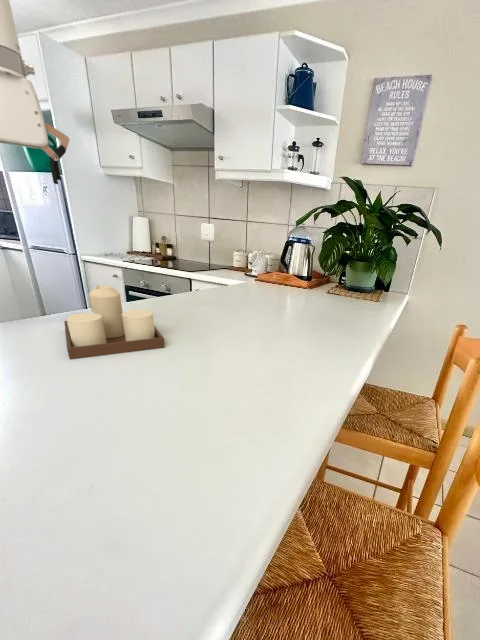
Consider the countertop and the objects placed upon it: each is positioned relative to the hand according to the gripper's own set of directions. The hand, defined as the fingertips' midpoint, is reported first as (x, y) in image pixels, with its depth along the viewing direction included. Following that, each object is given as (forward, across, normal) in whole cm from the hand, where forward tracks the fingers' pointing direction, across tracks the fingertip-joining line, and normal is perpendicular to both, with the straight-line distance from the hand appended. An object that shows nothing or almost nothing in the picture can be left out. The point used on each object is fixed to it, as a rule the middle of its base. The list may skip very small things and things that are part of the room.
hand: (26, 180), depth 64 cm
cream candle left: (+28, -4, +23) cm, 36 cm away
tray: (+28, -9, +19) cm, 35 cm away
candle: (+28, -9, +16) cm, 33 cm away
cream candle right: (+28, -14, +23) cm, 38 cm away
